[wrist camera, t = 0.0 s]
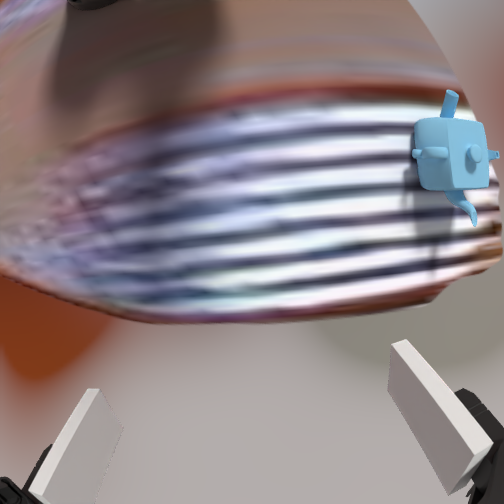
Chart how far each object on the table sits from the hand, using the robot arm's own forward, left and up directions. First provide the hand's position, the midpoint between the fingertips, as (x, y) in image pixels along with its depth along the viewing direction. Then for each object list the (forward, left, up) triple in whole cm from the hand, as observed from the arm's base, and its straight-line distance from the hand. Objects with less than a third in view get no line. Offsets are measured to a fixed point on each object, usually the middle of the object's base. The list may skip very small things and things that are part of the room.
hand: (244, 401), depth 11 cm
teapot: (-8, +31, -28) cm, 42 cm away
